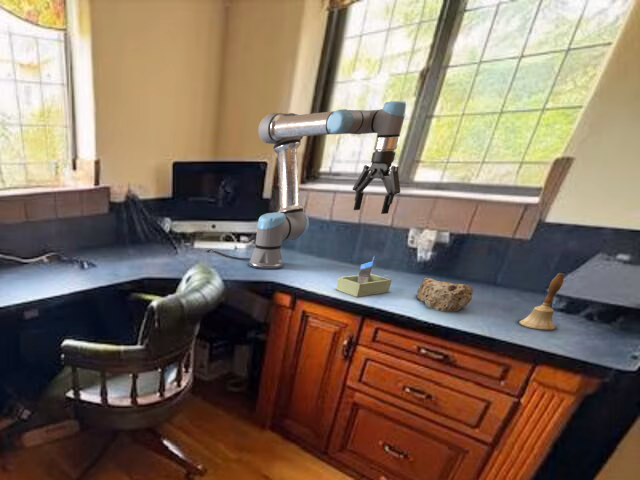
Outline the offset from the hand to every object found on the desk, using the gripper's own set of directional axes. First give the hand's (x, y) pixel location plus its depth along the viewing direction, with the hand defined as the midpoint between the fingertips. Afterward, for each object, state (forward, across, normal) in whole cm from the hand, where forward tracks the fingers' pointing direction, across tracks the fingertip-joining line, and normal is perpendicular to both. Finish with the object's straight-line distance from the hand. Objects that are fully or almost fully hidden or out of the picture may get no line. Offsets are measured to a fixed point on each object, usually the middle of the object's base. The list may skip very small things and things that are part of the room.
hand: (370, 211), depth 167 cm
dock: (+27, -15, +11) cm, 33 cm away
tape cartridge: (+26, -15, +12) cm, 32 cm away
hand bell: (+27, -64, -8) cm, 70 cm away
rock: (+27, -38, -2) cm, 47 cm away
